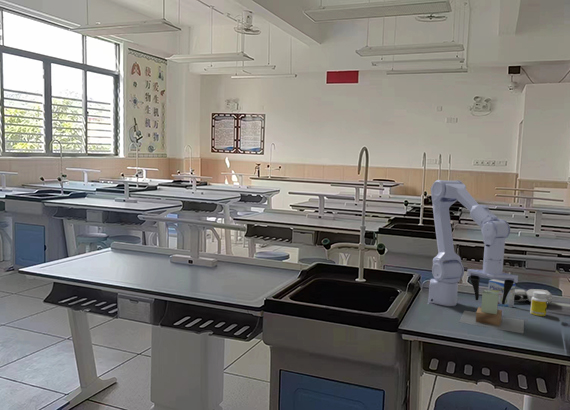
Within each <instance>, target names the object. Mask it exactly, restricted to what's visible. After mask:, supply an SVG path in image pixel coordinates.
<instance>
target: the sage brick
mask: <svg viewBox="0 0 570 410" xmlns="http://www.w3.org/2000/svg"><path fill="white" fill-rule="evenodd" d="M481 294H482V295H481V296H482V297H481V306H480V307H481V312H484V313H491V314H497V310H499V308H498V307H499V306H498V296H499V292H495V291H488V289H487V290H486V289H483V291H482V293H481Z"/></svg>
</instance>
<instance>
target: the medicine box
mask: <svg viewBox="0 0 570 410" xmlns="http://www.w3.org/2000/svg"><path fill="white" fill-rule="evenodd" d="M504 282H505V281H504V280H497V279H489V280H488V287H487V290H488V291H495V292H499V296H498V307H504V308H510V309H511V308H514V302H515V300H514V295H515V289H516V283H515V282H513V286H512V287H511V289H510V291H509V293H508V295H507V297H506V300H505V304H502V300H503V294H504Z"/></svg>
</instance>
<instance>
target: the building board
mask: <svg viewBox="0 0 570 410" xmlns="http://www.w3.org/2000/svg"><path fill="white" fill-rule="evenodd" d="M476 312H477V311H475V312H474V311H469V310H463V313H462V315H461V317H460V319H459V321H458V323H459V324H466V325H471V326H477V327H483V328H489V329H494V330H495V329H496V330H501V331H506V332H512V333H518V334H524V326H525V319H518V318H512V317H506V316H502V317H501V323H500V326H498V325H492V324H486V323H480V322H476Z"/></svg>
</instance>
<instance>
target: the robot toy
mask: <svg viewBox="0 0 570 410" xmlns="http://www.w3.org/2000/svg"><path fill="white" fill-rule="evenodd" d="M533 291H542V292H545V293H547V297H546V299H547V302H550V303H551V302H552V301H553V298H552V296H553V294H552V293H551V292H549V290H548V289H538V288H537V289H534V288H530V289H528V290H527V291H526V290H525V289H517V288H515V295H514V302H517V303H518V302H519V303H520V302H526V301H527V300H528V301H529V303H531V298H532V297H533Z"/></svg>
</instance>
